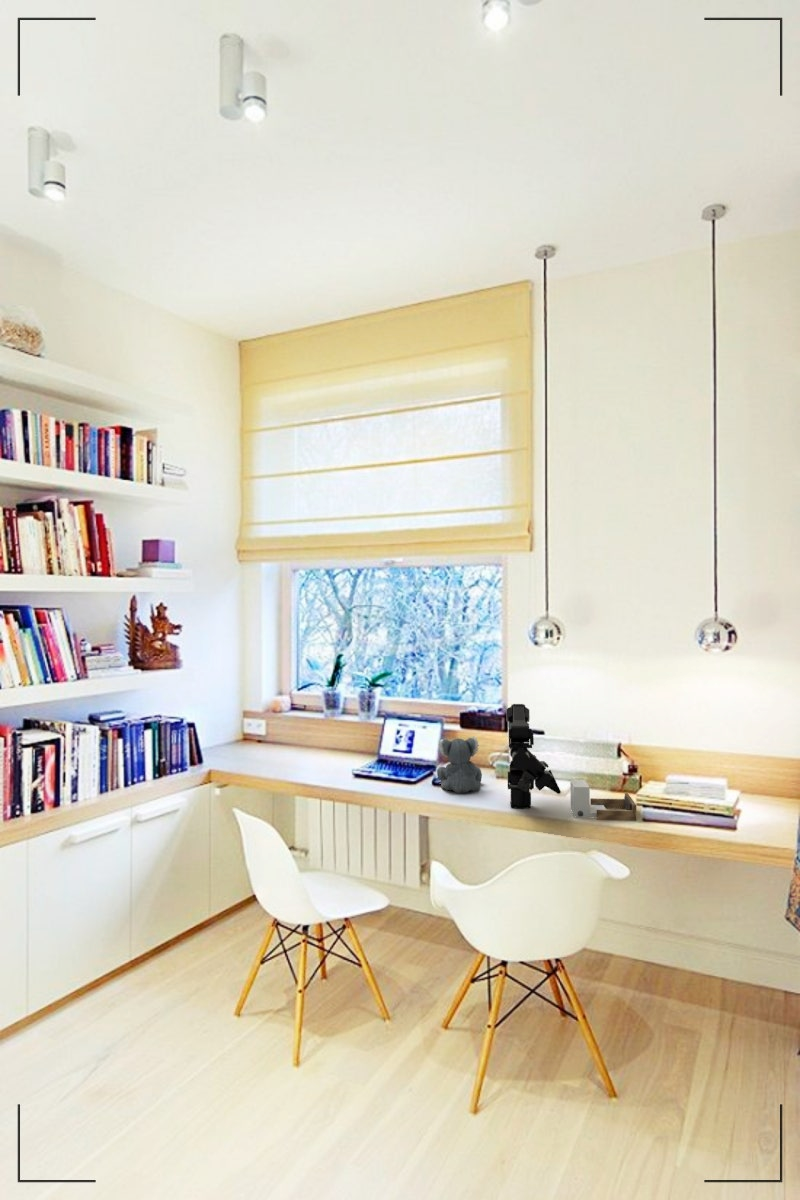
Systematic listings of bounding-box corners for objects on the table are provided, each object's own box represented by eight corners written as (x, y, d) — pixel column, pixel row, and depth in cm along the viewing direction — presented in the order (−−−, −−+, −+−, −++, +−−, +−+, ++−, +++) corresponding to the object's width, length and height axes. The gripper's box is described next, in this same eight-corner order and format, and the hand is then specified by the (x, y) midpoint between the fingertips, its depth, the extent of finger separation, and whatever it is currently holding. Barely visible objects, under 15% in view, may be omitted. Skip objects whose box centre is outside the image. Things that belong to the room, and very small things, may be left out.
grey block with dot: (574, 817, 249) (574, 787, 249) (570, 808, 259) (570, 779, 259) (608, 818, 248) (608, 787, 248) (603, 809, 258) (603, 780, 258)
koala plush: (481, 782, 296) (480, 732, 295) (485, 794, 278) (485, 741, 277) (436, 782, 296) (436, 732, 296) (438, 795, 278) (437, 741, 278)
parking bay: (597, 819, 246) (596, 804, 246) (590, 807, 260) (590, 792, 260) (636, 820, 245) (636, 805, 245) (627, 807, 259) (627, 793, 259)
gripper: (508, 769, 265) (540, 801, 264) (510, 783, 247) (545, 818, 246) (530, 747, 264) (563, 779, 263) (535, 759, 246) (569, 794, 245)
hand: (559, 792), depth 254 cm, fingers closed
